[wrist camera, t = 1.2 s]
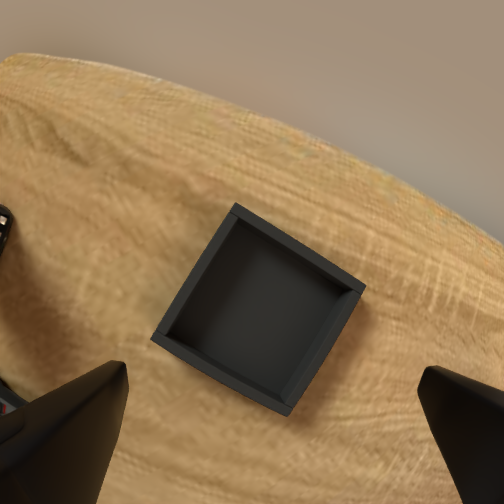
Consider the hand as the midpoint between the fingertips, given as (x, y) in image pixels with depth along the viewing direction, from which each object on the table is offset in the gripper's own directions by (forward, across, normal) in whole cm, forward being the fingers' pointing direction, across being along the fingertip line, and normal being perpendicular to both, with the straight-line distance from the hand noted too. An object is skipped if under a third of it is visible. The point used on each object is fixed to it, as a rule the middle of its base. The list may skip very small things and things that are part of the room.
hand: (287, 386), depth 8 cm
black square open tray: (+15, -1, +4) cm, 16 cm away
